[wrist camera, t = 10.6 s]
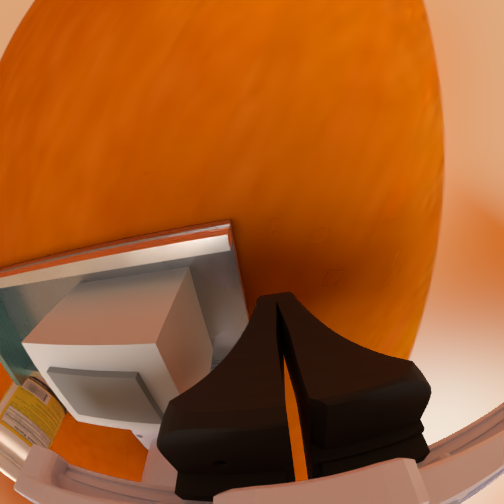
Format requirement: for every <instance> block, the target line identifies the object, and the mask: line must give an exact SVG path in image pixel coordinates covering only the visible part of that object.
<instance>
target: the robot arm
mask: <svg viewBox="0 0 504 504" xmlns="http://www.w3.org/2000/svg"><path fill="white" fill-rule="evenodd" d="M283 354H284V356H283ZM284 358H285V361H286V365H287V368H288V372H289V376H290V379H291V383H292V386H293V390H294V393H295V397H296V402H297V407H298V413H299V420H300V426H301V432H302V439H303V446H304V453H305V460H306V467H307V475H308V480H304V481H298V482H295V474H294V466H293V458H292V451H291V443H290V435H289V427H288V420H287V412H286V404H285V383H284ZM430 395H431V387H430V385H429V383H428V382H427V380H426V378H425V377H424V375H423V374H422V373H421V371H420V370H419V369H418V367H417V366H416V365H415V364H414V363H413V361H409V360H404V359H400V358H396V357H391V356H387V355H384V354H381V353H378V352H375V351H372V350H370V349H367V348H364V347H362V346H360V345H358V344H356V343H354V342H351V341H349V340H347V339H346V338H344V337H342V336H340V335H339V334H337V333H335V332H334V331H332V330H331V329H330V328H328V327H327V326H326V325H324V324H323V323H322V322H320V321H319V320H318V319H317V318H316V317H315V316H313V315H312V314H311V313H310V312H309V311H308V310H307V309H306V308H305V307H304V306H303V305H302V304H301V303H300V302H299V301H298V300H297V298H296V297H295V296H294V295H293V293H291V292H285V293H278V294H272V295H265V296H260V297H259V298H258V299H257V303H256V306H255V309H254V311H253V314H252V316H251V318H250V320H249V322H248V324H247V326H246V328H245V330H244V331H243V333H242V335H241V336H240V338H239V339H238V341H237V342H236V344H235V345H234V347H233V348H232V349H231V351H230V352H229V353H228V354H227V356H226V357H225V358H224V359H223V360H222V361H221V362H220V363H219V364H218V365H217V366H216V367H215V368H214V369H213V370H212V371H211V372H210V373H209V374H208V375H207V376H205V377H204V378H203V379H202V380H200V381H199V382H198V383H197V384H195V385H194V386H192V387H191V388H189V389H188V390H186V391H185V392H183V393H182V394H180V395H178V396H177V397H175V398H174V399H172V400H170V401H169V403H168V406H167V408H166V410H165V413H164V415H163V418H162V421H161V425H160V429H159V432H150V431H139V430H131V431H132V433H133V434H134V435H135V436H136V437H137V438H138V440H139V441H140V442H141V443H142V444H143V445H144V446H145V447H146V449H147V450H148V455H147V459H146V463H145V467H144V471H143V475H142V480H141V482H135V481H130V480H125V479H121V478H116V477H112V476H108V475H104V474H100V473H96V472H93V471H89V470H86V469H83V468H80V467H76V466H73V465H70V464H68V463H67V462H66V461H65V460H64V459H63V458H62V457H61V456H60V455H58V454H57V453H55V452H54V451H52V450H49V449H47V448H44V447H42V446H39V445H37V444H33V445H32V447H31V449H30V452H29V454H28V456H27V458H26V460H25V462H24V464H23V467H22V469H21V471H20V473H19V476H18V478H17V480H16V483H15V485H14V490H15V491H17V492H18V493H19V494H21V495H22V496H24V497H25V498H27V499H28V500H30V501H31V502H33V503H35V504H460V503H462V502H463V501H465V500H466V499H468V498H470V497H471V496H473V495H474V494H476V493H477V492H479V491H480V490H482V489H483V488H485V487H486V486H487V485H489V484H490V483H491V482H493V481H494V480H495V479H497V478H498V477H499V476H500V475H502V474H503V473H504V403H502V404H501V405H499V406H498V407H497V408H495V409H494V410H492V411H491V412H489V413H488V414H486V415H484V416H483V417H481V418H480V419H478V420H477V421H475V422H473V423H471V424H470V425H468V426H466V427H465V428H463V429H461V430H459V431H457V432H455V433H454V434H452V435H450V436H448V437H446V438H444V439H442V440H440V441H438V442H436V443H434V444H432V445H430V446H428V445H427V443H426V441H425V439H424V437H423V435H422V432H423V431H424V426H423V424H422V422H421V420H420V418H421V416H422V414H423V412H424V410H425V408H426V406H427V404H428V402H429V399H430Z"/></svg>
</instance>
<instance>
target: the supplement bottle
mask: <svg viewBox="0 0 504 504" xmlns="http://www.w3.org/2000/svg"><path fill="white" fill-rule="evenodd" d="M66 413H67V408H66V407H65V406H64V405H63V403H62V402H61V401H60V400H59V398H58V397H57V396H56V394H55V393H54V392H53V390H52V389H51V388H50V386H49V385H48V384H47V382H46V381H45V379H44V378H39V377H33V376H29V377H28V378H27V380H26V381H25V383H24V384H23V385H22V386H19V385H16V384H15V382H14V381H13V382H12V384H11V385H10V387H9V388H8V390H7V391H6V393H5V394H4V396H3V397H2V399H1V400H0V471H1V472H2V473H4V474H5V475H6V476H7V477H9V478H10V479H12V480H13V481H15V482H16V480H17V478H18V476H19V473H20V471H21V469H22V467H23V464H24V462H25V460H26V458H27V456H28V454H29V452H30V449H31V447H32V445H33V444H37V445H39V446H42V447H44V448H47V449H50V447H51V445H52V442H53V440H54V438H55V436H56V434H57V432H58V429H59V427H60V425H61V423H62V421H63V419H64V417H65V415H66Z"/></svg>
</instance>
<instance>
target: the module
mask: <svg viewBox="0 0 504 504" xmlns="http://www.w3.org/2000/svg"><path fill="white" fill-rule="evenodd" d="M21 343H22V345H23V347H24V348H25V350H26V352H27V353H28V355H29V356H30V358H31V360H32V361H33V363H34V364H35V366H36V367H37V369H38V371H39V372H40V373H41V375H42V376H43V378H44V379H45V381H46V382H47V384H48V385H49V386H50V388H51V389H52V390H53V392H54V393H55V394H56V396H57V397H58V398H59V400H60V401H61V402H62V403H63V405H64V406H65V407H66V408H67V410H68V411H69V412H70V413H71V414H72V416H73V417H74V418H75V419H76V420H77V421H80V422H85V423H90V424H95V425H101V426H107V427H114V428H121V429H129V430H139V431H150V432H159V429H160V425H161V421H162V418H163V415H164V413H165V410H166V408H167V406H168V403H169V401H170V400H172V399H174V398H175V397H177V396H178V395H180V394H182V393H183V392H185V391H186V390H188V389H189V388H191V387H192V386H194V385H195V384H197V383H198V382H199V381H200V380H202V379H203V378H204V377H205V376H207V375H208V374H209V373H210V368H211V361H212V354H213V347H212V344H211V340H210V337H209V334H208V331H207V328H206V324H205V321H204V318H203V315H202V311H201V308H200V304H199V301H198V297H197V294H196V290H195V287H194V283H193V280H192V276H191V272H190V269H189V267H184V268H177V269H170V270H164V271H157V272H151V273H144V274H137V275H131V276H124V277H117V278H110V279H104V280H97V281H90V282H83V283H78V284H77V285H76V286H75V287H74V288H73V289H72V290H71V291H70V292H69V293H68V294H67V295H66V296H65V297H64V298H63V299H62V300H61V301H60V302H59V303H58V304H57V305H56V306H55V307H54V308H53V309H52V310H51V311H50V312H49V313H48V314H47V315H46V316H45V317H44V318H43V319H42V320H41V321H40V323H39V324H38V325H37V326H36V327H35V328H34V329H33V330H32V331H31V332H30V333H29V335H28V336H27V337H26V338H25V339H24V340H23V341H22V342H21Z"/></svg>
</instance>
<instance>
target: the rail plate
mask: <svg viewBox="0 0 504 504" xmlns="http://www.w3.org/2000/svg"><path fill="white" fill-rule="evenodd" d="M184 267H189V269H190V272H191V276H192V280H193V283H194V287H195V290H196V294H197V297H198V301H199V304H200V308H201V311H202V315H203V318H204V321H205V324H206V328H207V331H208V334H209V337H210V340H211V344H212V347H213V354H212V361H211V368H210V372H211V371H212V370H213V369H214V368H215V367H216V366H217V365H218V364H219V363H220V362H221V361H222V360H223V359H224V358H225V357H226V356H227V354H228V353H229V352H230V351H231V349H232V348H233V347H234V345H235V344H236V342H237V341H238V339H239V338H240V336H241V335H242V333H243V331H244V330H245V328H246V326H247V324H248V322H249V320H250V317H249V312H248V307H247V302H246V297H245V292H244V287H243V282H242V277H241V272H240V267H239V262H238V257H237V252H236V246H235V241H234V236H233V231H232V225H231V220H230V219H227V220H221V221H216V222H210V223H204V224H199V225H193V226H188V227H182V228H177V229H171V230H166V231H161V232H156V233H151V234H146V235H141V236H136V237H131V238H126V239H121V240H116V241H112V242H107V243H102V244H98V245H93V246H89V247H84V248H80V249H76V250H71V251H67V252H63V253H58V254H54V255H50V256H46V257H42V258H38V259H34V260H30V261H26V262H22V263H18V264H14V265H11V266H7V267H3V268H0V362H1V363H2V365H3V366H4V368H5V369H6V371H7V372H8V374H9V375H10V377H11V378H12V380H13V381H14V382H15V384H16V385H19V386H22V385H23V384H24V383H25V381H26V380H27V378H28V377H29V376H33V377H39V378H43V376H42V375H41V373H40V372H39V371H38V369H37V367H36V366H35V364H34V363H33V361H32V360H31V358H30V356H29V355H28V353H27V352H26V350H25V348H24V347H23V345H22V343H21V342H22V341H23V340H24V339H25V338H26V337H27V336H28V335H29V333H30V332H31V331H32V330H33V329H34V328H35V327H36V326H37V325H38V324H39V323H40V321H41V320H42V319H43V318H44V317H45V316H46V315H47V314H48V313H49V312H50V311H51V310H52V309H53V308H54V307H55V306H56V305H57V304H58V303H59V302H60V301H61V300H62V299H63V298H64V297H65V296H66V295H67V294H68V293H69V292H70V291H71V290H72V289H73V288H74V287H75V286H76V285H77V284H78V283H83V282H90V281H97V280H104V279H110V278H117V277H124V276H131V275H137V274H144V273H151V272H157V271H164V270H170V269H177V268H184Z"/></svg>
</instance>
